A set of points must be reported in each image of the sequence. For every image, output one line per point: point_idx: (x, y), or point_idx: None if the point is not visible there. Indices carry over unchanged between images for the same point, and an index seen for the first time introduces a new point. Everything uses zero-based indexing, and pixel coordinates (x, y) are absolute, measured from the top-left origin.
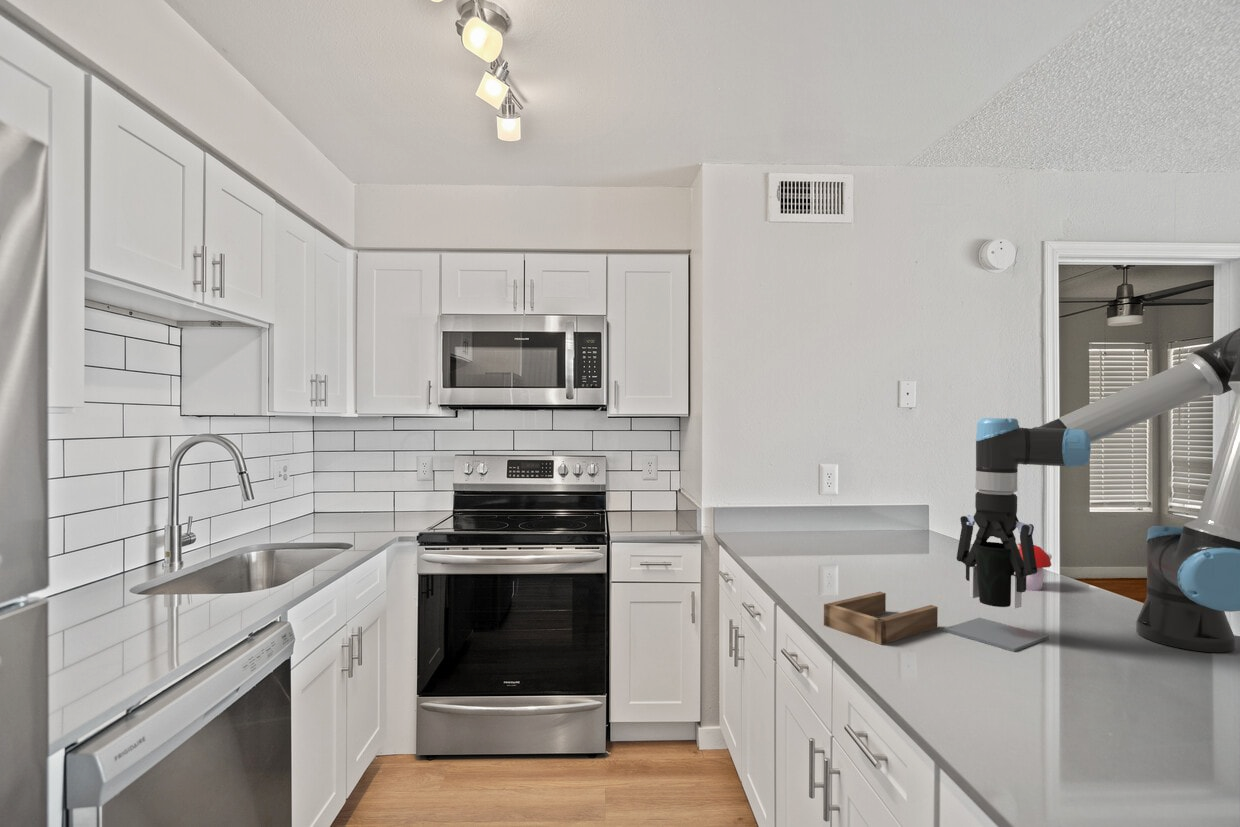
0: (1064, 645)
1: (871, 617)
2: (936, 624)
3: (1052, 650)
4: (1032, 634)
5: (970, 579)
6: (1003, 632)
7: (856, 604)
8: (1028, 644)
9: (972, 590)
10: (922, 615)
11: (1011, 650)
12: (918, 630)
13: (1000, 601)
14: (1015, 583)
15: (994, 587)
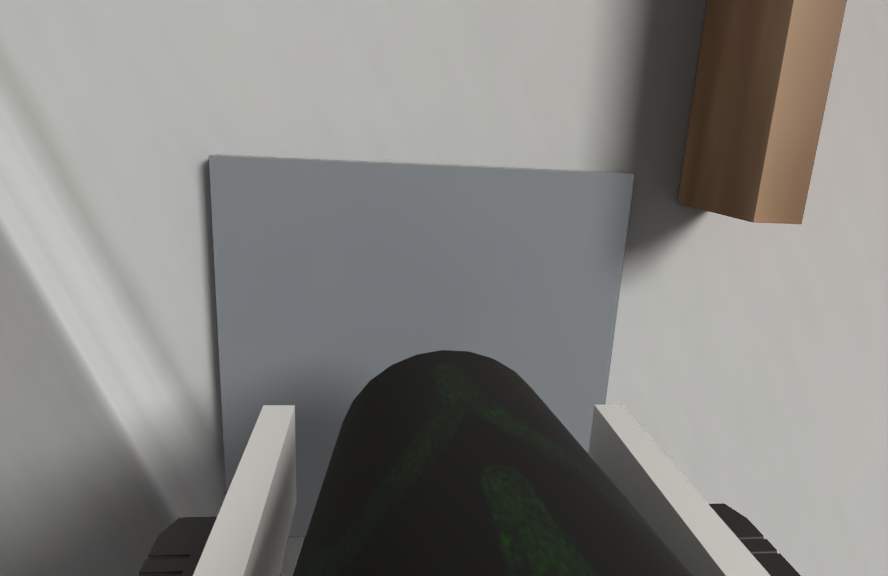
0: (133, 494)
1: None
2: (689, 195)
3: (119, 364)
4: None
5: (689, 492)
6: None
7: None
8: (218, 321)
9: (622, 435)
10: (767, 20)
11: (228, 155)
12: None
13: (364, 400)
14: (207, 558)
15: (405, 425)
